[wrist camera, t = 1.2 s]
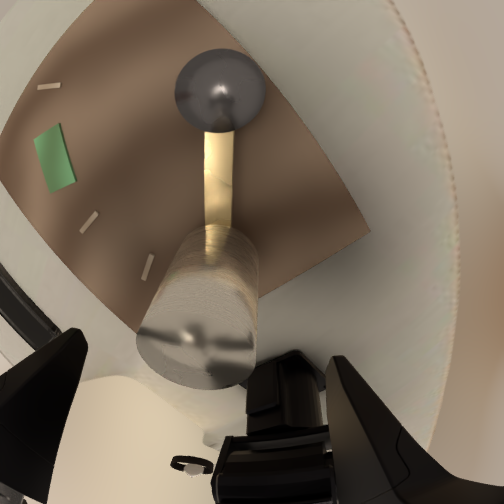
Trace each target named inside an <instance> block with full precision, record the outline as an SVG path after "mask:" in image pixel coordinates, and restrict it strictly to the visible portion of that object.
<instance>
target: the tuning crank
mask: <svg viewBox="0 0 504 504" xmlns="http://www.w3.org/2000/svg"><path fill="white" fill-rule="evenodd" d="M265 93H266V85H265V79H264V76H263V74H262V71H261V69H260V68H259V66H258V65H257V64H256V63H255V62H254V61H253V60H252V59H251V58H250V57H248V56H247V55H245V54H243V53H241V52H239V51H236V50H232V49H222V48H221V49H213V50H208V51H205V52H203V53H201V54H198V55H197V56H195V57H194V58H192V59H191V60H190V61H189V62H188V63H187V64H186V65H185V66H184V67H183V68H182V70H181V71H180V73H179V75H178V78H177V80H176V84H175V91H174V94H175V102H176V105H177V108H178V110H179V112H180V114H181V115H182V116H183V118H184V119H185V120H186V121H187V122H188V123H189V124H191V125H192V126H194V127H195V128H197V129H200V130H202V131H205V157H204V195H205V226H202V227H200V228H197V229H195V230H194V231H192V232H191V233H190V234H188V235H187V237H186V238H185V239H184V240H183V242H182V244H181V246H180V248H179V249H178V251H177V253H176V255H175V257H174V259H173V261H172V263H171V265H170V266H169V268H168V270H167V272H166V274H165V276H164V278H163V280H162V282H161V284H160V286H159V288H158V290H157V292H156V294H155V296H154V298H153V300H152V302H151V304H150V306H149V308H148V311H147V313H146V315H145V317H144V319H143V321H142V323H141V325H140V328H139V330H138V332H137V337H136V344H137V348H138V351H139V353H140V355H141V357H142V358H143V360H144V361H145V362H146V363H147V364H148V365H149V366H150V368H152V369H153V370H154V371H155V372H157V373H158V374H159V375H161V376H163V377H164V378H166V379H168V380H170V381H172V382H174V383H177V384H179V385H183V386H186V387H190V388H195V389H203V390H217V389H224V388H229V387H232V386H235V385H237V384H239V383H241V382H243V381H244V380H246V379H247V378H248V377H249V376H250V375H251V373H252V372H253V370H254V368H255V364H256V343H257V310H258V275H259V258H258V253H257V250H256V248H255V246H254V245H253V243H252V242H251V241H250V239H249V238H248V237H247V236H246V235H244V234H243V233H242V232H240V231H238V230H236V229H234V228H232V205H233V172H234V144H235V130H237V129H239V128H241V127H243V126H245V125H246V124H247V123H249V122H250V121H251V120H252V119H253V118H254V117H255V116H256V115H257V114H258V113H259V111H260V109H261V108H262V105H263V103H264V99H265Z"/></svg>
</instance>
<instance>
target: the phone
mask: <svg viewBox="0 0 504 504" xmlns="http://www.w3.org/2000/svg"><path fill="white" fill-rule="evenodd" d="M0 315H1V316H2V317H3V318H4V319H5V320H6V321H7V322H8V324H9V325H10V326H11V327H12V328H13V329H14V330H15V331H16V332H17V333H18V334H19V335H20V336H21V337H22V338H23V339H24V340H25V341H26V342H27V343H28V344H29V345H30V346H31V347H32V348H33V349H34V350H35V351H37V350H38V349H40V348H41V347H43V346H44V345H46V344H47V343H49V342H50V341H52V340H53V339H55V338H56V337H58V336H59V335H61V334H62V332H61V331H60V329H59V328H58V327H57V326H56V325H55V324H54V323H53V322H52V321H51V320H50V319H49V318H48V317H47V316H46V315H45V314H44V313H43V312H42V311H41V310H40V309H39V308H38V307H37V306H36V305H35V304H34V302H33V301H32V300H31V299H30V298H29V297H28V296H27V295H26V294H25V292H24V291H23V290H22V289H21V288H20V287H19V285H18V284H17V283H16V282H15V281H14V280H13V278H12V277H11V276H10V275H9V273H8V272H7V271H6V270H5V268H4V267H3V266H2V264H1V263H0Z"/></svg>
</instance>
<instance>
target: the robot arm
mask: <svg viewBox="0 0 504 504" xmlns="http://www.w3.org/2000/svg"><path fill="white" fill-rule="evenodd" d="M87 352H88V343H87V341H86V339H85V337H84V334H83V332H82V331H81V330H80V329H77V328H70V329H68V330H67V331H65V332H64V333H62V334H61V335H59V336H58V337H56V338H55V339H53V340H52V341H50V342H49V343H47V344H46V345H44V346H43V347H41V348H40V349H38V350H37V351H35V352H34V353H32V354H31V355H29V356H28V357H26V358H25V359H24V360H22V361H21V362H19V363H18V364H16V365H15V366H13V367H12V368H11V369H9V370H8V371H7V372H5V373H4V374H2V375H1V376H0V504H27V502H26V500H25V499H23V498H24V495H25V496H28V497H29V498H32V499H34V500H36V501H38V502H41V503H43V504H47V500H48V494H49V488H50V483H51V478H52V474H53V469H54V464H55V460H56V456H57V452H58V448H59V444H60V441H61V437H62V434H63V430H64V427H65V423H66V420H67V417H68V414H69V411H70V407H71V405H72V402H73V399H74V396H75V393H76V390H77V387H78V384H79V381H80V378H81V374H82V370H83V366H84V362H85V359H86V355H87ZM239 385H241V386H242V387H243V388H245V389H246V390H247V395H246V414H247V430H246V434H247V435H248V436H237V437H234V436H226V437H225V440H224V443H223V445H222V448H221V451H220V454H219V457H218V461H217V464H216V467H215V470H214V473H213V476H212V479H211V487H212V494H213V498H214V501H215V503H216V504H504V486H495V485H488V484H483V483H478V482H474V481H469V480H465V479H461V478H458V477H456V476H454V475H452V474H450V473H449V472H448V471H447V470H445V469H444V468H443V467H442V466H441V465H440V464H439V463H438V462H437V461H436V460H435V459H433V458H432V457H431V456H430V455H429V454H428V453H427V452H426V451H425V450H424V449H423V448H422V447H421V446H420V445H419V444H418V443H417V442H416V441H415V440H414V438H413V437H412V436H411V435H410V434H409V433H408V432H407V430H406V429H405V428H404V427H403V426H402V425H401V423H400V422H399V421H398V420H397V418H396V417H395V416H394V415H393V414H392V412H391V411H390V410H389V409H388V408H387V406H386V405H385V404H384V403H383V402H382V400H381V399H380V398H379V397H378V396H377V394H376V393H375V392H374V391H373V390H372V388H371V387H370V386H369V385H368V384H367V382H366V381H365V380H364V379H363V378H362V376H361V375H360V374H359V373H358V372H357V370H356V369H355V368H354V367H353V366H352V364H351V363H350V362H349V361H348V360H347V359H346V357H345V356H343V355H334V356H332V357H331V359H330V361H329V364H328V366H327V369H326V373H325V375H324V374H323V373H322V372H321V371H320V370H319V369H318V368H317V367H316V366H315V365H314V364H313V363H312V362H310V361H309V360H308V359H307V358H306V357H305V356H304V355H303V354H302V353H301V352H300V351H293V352H290V353H288V354H286V355H284V356H281V357H279V358H277V359H275V360H272V361H270V362H268V363H265V364H263V365H261V366H258V367H256V368H254V370H253V372H252V373H251V375H250V376H249V377H248V378H247V379H246V380H244V381H243V382H241V383H239ZM323 390H326V404H327V419H328V425H323V420H322V412H321V405H320V397H319V392H321V391H323ZM329 449H332V451H331V452H327V451H326V450H329Z"/></svg>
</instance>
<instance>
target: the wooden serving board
mask: <svg viewBox="0 0 504 504" xmlns="http://www.w3.org/2000/svg"><path fill="white" fill-rule="evenodd" d="M221 48H222V49H232V50H236V51H239V52H241V53H243V54H245V55H247V56H248V57H250V58H251V59H252V60H253V61H254V59H253V58H252V57H251V56H250V55H249V54H248V53H247V52H246V50H245V49H244V48H243V47H242V46H241V45H240V44H239V43H238V42H237V41H236V40H235V39H234V37H233V36H232V35H231V34H230V33H229V32H228V31H227V30H226V29H225V28H224V27H223V26H222V25H221V24H220V23H219V22H218V21H217V20H216V19H215V18H214V17H213V16H212V15H211V14H210V13H209V12H208V11H207V10H206V9H204V8H203V7H202V6H201V5H200V4H199V3H198V2H197V1H196V0H94V1H93V2H92V3H91V4H90V5H89V6H88V7H87V8H86V9H85V10H84V11H83V12H82V13H81V14H80V15H79V17H78V18H77V19H76V20H75V21H74V22H73V23H72V24H71V26H70V27H69V28H68V29H67V30H66V31H65V33H64V34H63V35H62V36H61V38H60V39H59V40H58V41H57V43H56V44H55V45H54V46H53V48H52V49H51V50H50V52H49V53H48V54H47V56H46V57H45V59H44V60H43V61H42V63H41V64H40V66H39V67H38V69H37V70H36V72H35V73H34V75H33V76H32V78H31V79H30V81H29V83H28V84H27V86H26V88H25V89H24V91H23V93H22V94H21V96H20V98H19V100H18V101H17V103H16V105H15V107H14V109H13V111H12V113H11V115H10V117H9V119H8V121H7V123H6V125H5V127H4V129H3V131H2V133H1V135H0V181H1V182H2V184H3V185H4V187H5V188H6V190H7V191H8V193H9V194H10V196H11V197H12V199H13V200H14V202H15V203H16V204H17V206H18V207H19V209H20V210H21V211H22V213H23V214H24V215H25V217H26V218H27V219H28V221H29V222H30V223H31V225H32V226H33V227H34V228H35V230H36V231H37V232H38V233H39V235H40V236H41V237H42V238H43V240H44V241H45V242H46V243H47V244H48V246H49V247H50V248H51V249H52V250H53V251H54V253H55V254H56V255H57V256H58V257H59V258H60V259H61V261H62V262H63V263H64V264H65V265H66V266H67V267H68V268H69V269H70V270H71V272H72V273H73V274H74V275H75V276H76V277H77V278H78V279H79V280H80V281H81V282H82V283H83V284H84V285H85V286H86V287H87V288H88V289H89V290H90V291H91V292H92V293H93V294H94V295H95V296H96V297H97V298H98V299H99V300H100V301H101V302H102V303H103V304H104V305H105V306H106V307H107V308H108V309H109V310H111V311H112V312H113V313H114V314H115V315H116V316H117V317H118V318H119V319H120V320H122V321H123V322H124V323H125V324H126V325H127V326H128V327H129V328H131V329H132V330H133V331H134V332H135V333H136V334H137V332H138V330H139V328H140V325H141V323H142V321H143V319H144V317H145V315H146V313H147V311H148V308H149V306H150V304H151V302H152V300H153V298H154V296H155V294H156V292H157V290H158V288H159V286H160V284H161V282H162V280H163V278H164V276H165V274H166V272H167V270H168V268H169V266H170V265H171V263H172V261H173V259H174V257H175V255H176V253H177V251H178V249H179V248H180V246H181V244H182V242H183V240H184V239H185V238H186V237H187V235H188V234H190V233H191V232H192V231H194V230H195V229H197V228H200V227H202V226H205V195H204V157H205V131H202V130H200V129H197V128H195V127H194V126H192V125H191V124H189V123H188V122H187V121H186V120H185V119H184V118H183V116H182V115H181V114H180V112H179V110H178V108H177V105H176V102H175V94H174V91H175V84H176V80H177V78H178V75H179V73H180V71H181V70H182V68H183V67H184V66H185V65H186V64H187V63H188V62H189V61H190V60H191V59H192V58H194V57H195V56H197V55H198V54H201V53H203V52H205V51H208V50H213V49H221ZM254 62H255V61H254ZM255 63H256V62H255ZM256 64H257V63H256ZM257 65H258V64H257ZM258 66H259V65H258ZM259 68H260V66H259ZM260 69H261V68H260ZM261 71H262V74H263V76H264V79H265V85H266V93H265V99H264V103H263V105H262V108H261V109H260V111H259V113H258V114H257V115H256V116H255V117H254V118H253V119H252V120H251V121H250V122H249V123H247V124H246V125H245V126H243V127H241V128H239V129H237V130H235V144H234V172H233V205H232V228H234V229H236V230H238V231H240V232H242V233H243V234H244V235H246V236H247V237H248V238H249V239H250V241H251V242H252V243H253V245H254V246H255V248H256V250H257V253H258V258H259V275H258V298H260V297H262V296H264V295H265V294H267V293H269V292H271V291H272V290H274V289H276V288H278V287H279V286H281V285H283V284H285V283H286V282H288V281H290V280H292V279H293V278H295V277H297V276H298V275H300V274H302V273H303V272H305V271H307V270H309V269H310V268H312V267H314V266H315V265H317V264H319V263H320V262H322V261H324V260H325V259H327V258H329V257H330V256H332V255H333V254H335V253H337V252H338V251H340V250H342V249H343V248H345V247H346V246H348V245H350V244H351V243H353V242H354V241H356V240H358V239H359V238H361V237H362V236H364V235H366V234H367V233H369V232H370V229H369V227H368V225H367V223H366V221H365V219H364V218H363V216H362V214H361V212H360V210H359V209H358V207H357V205H356V203H355V202H354V200H353V198H352V197H351V195H350V193H349V191H348V190H347V188H346V186H345V185H344V183H343V181H342V180H341V178H340V177H339V175H338V173H337V172H336V170H335V169H334V167H333V165H332V164H331V162H330V161H329V159H328V158H327V156H326V155H325V153H324V152H323V150H322V149H321V147H320V146H319V144H318V143H317V141H316V140H315V138H314V137H313V135H312V134H311V132H310V131H309V130H308V128H307V127H306V125H305V124H304V123H303V121H302V120H301V118H300V117H299V116H298V114H297V113H296V112H295V110H294V109H293V108H292V106H291V105H290V104H289V102H288V101H287V100H286V98H285V97H284V96H283V95H282V93H281V92H280V91H279V89H278V88H277V87H276V86H275V84H274V83H273V82H272V81H271V80H270V78H269V77H268V76H267V75H266V74H265V72H264V71H263V70H262V69H261Z"/></svg>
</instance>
